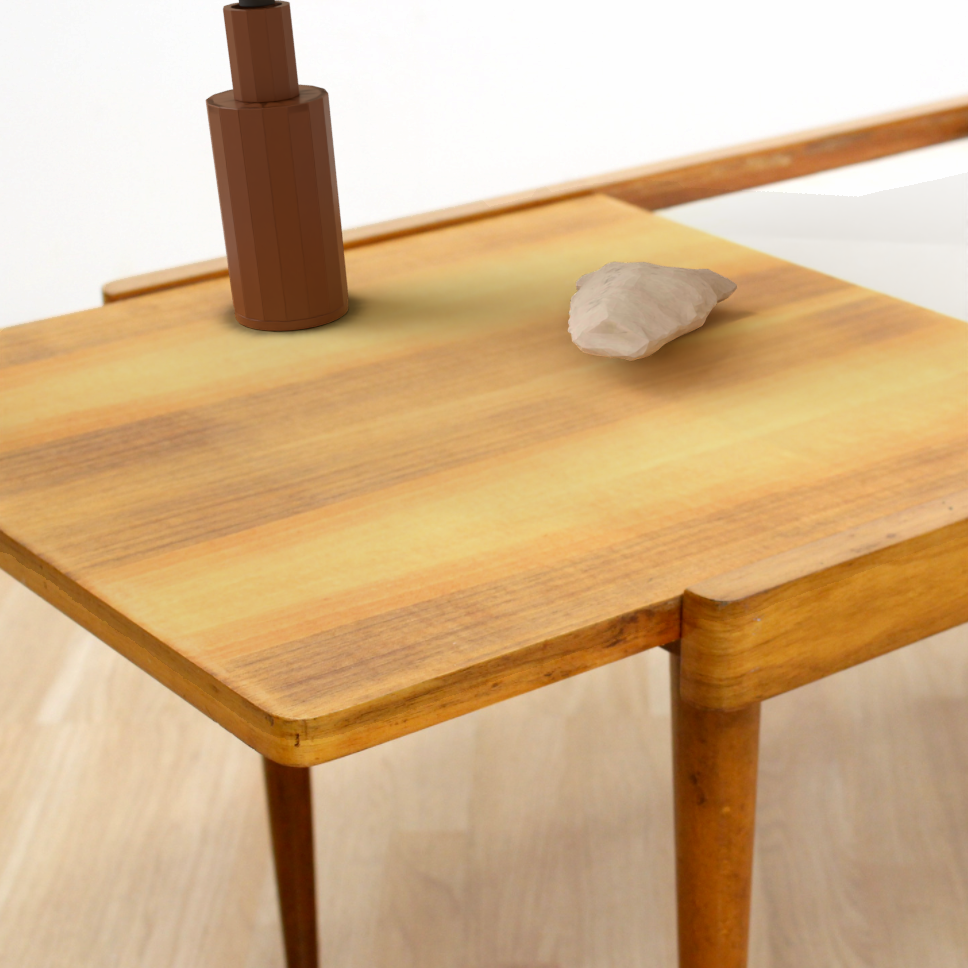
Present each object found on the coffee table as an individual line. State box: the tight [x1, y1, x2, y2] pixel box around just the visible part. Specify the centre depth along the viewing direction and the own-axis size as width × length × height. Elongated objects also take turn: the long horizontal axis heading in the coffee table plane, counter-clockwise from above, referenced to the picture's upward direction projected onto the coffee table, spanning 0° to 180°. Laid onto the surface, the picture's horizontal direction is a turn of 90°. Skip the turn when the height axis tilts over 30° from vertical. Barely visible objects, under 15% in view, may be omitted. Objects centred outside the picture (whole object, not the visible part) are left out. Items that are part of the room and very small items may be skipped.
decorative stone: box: [567, 261, 738, 362], centre depth 86 cm, size 10×4×15 cm
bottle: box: [205, 0, 350, 332], centre depth 91 cm, size 7×7×18 cm
